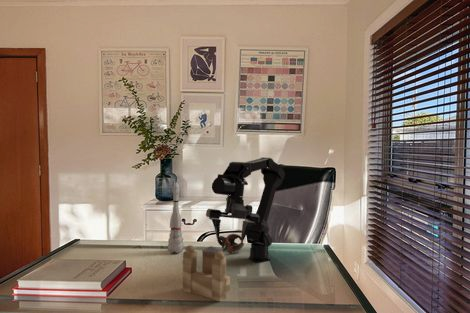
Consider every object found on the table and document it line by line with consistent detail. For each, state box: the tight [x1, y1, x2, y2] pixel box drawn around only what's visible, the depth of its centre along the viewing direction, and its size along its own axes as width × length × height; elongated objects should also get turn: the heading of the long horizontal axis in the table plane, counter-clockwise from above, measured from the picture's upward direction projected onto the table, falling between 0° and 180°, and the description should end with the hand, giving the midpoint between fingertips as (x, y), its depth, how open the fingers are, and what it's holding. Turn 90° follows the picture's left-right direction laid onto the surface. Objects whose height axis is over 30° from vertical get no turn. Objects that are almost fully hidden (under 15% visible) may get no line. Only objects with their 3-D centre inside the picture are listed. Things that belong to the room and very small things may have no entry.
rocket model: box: [167, 181, 185, 254], centre depth 139 cm, size 7×7×30 cm
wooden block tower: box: [182, 245, 231, 302], centre depth 101 cm, size 8×14×14 cm, turn 59°
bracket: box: [201, 245, 224, 275], centre depth 102 cm, size 5×5×13 cm
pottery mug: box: [216, 233, 245, 255], centre depth 142 cm, size 12×10×8 cm
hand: (230, 239), depth 116 cm, fingers open, 9 cm apart
